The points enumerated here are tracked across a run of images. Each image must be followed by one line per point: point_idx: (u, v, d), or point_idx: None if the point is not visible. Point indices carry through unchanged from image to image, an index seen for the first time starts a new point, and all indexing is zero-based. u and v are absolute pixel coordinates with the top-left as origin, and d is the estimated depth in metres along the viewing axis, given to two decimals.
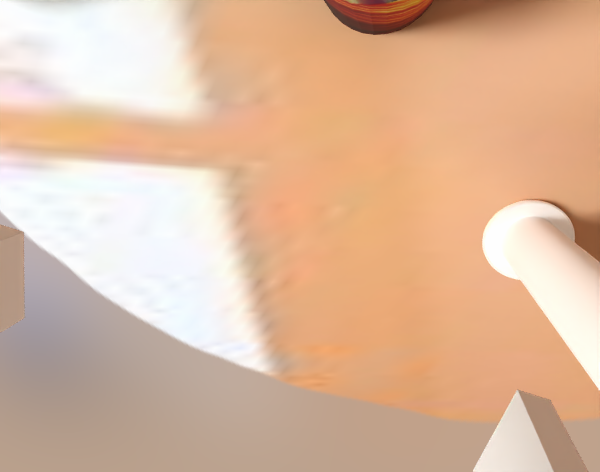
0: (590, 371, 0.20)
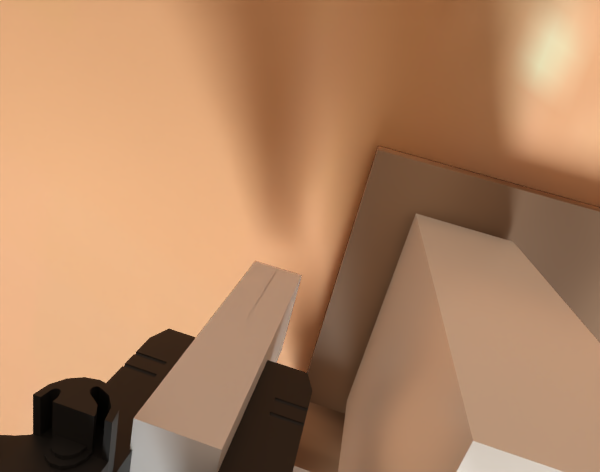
0: None
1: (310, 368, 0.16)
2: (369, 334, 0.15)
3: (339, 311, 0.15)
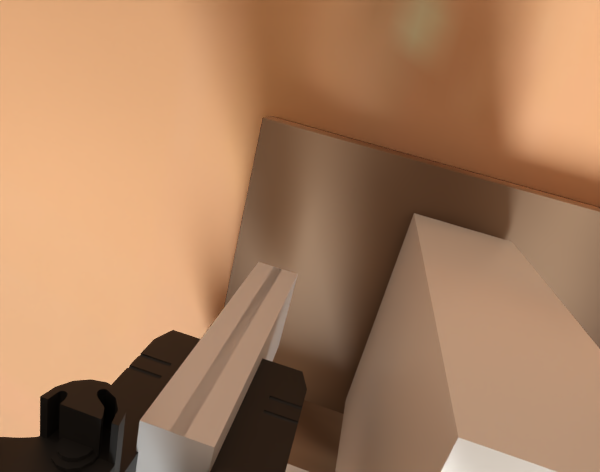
0: None
1: None
2: None
3: (241, 279, 0.15)
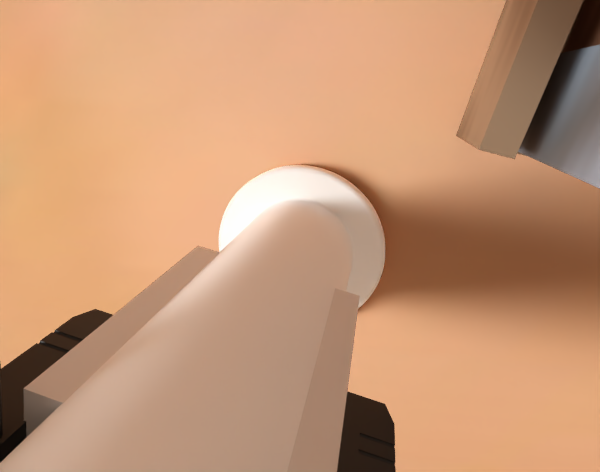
0: None
1: None
2: None
3: None
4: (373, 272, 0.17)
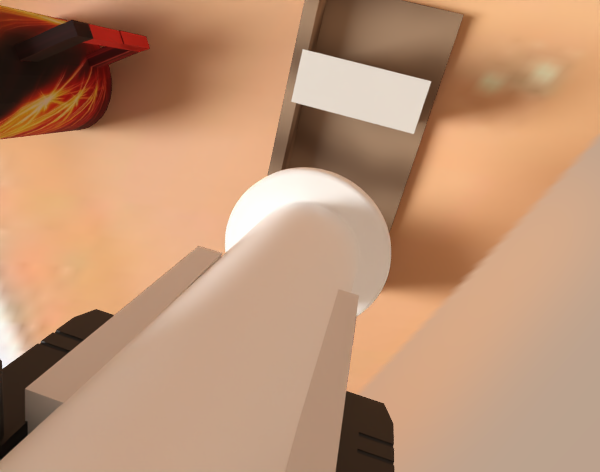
0: None
1: None
2: (372, 19, 0.31)
3: (384, 3, 0.31)
4: (379, 275, 0.17)
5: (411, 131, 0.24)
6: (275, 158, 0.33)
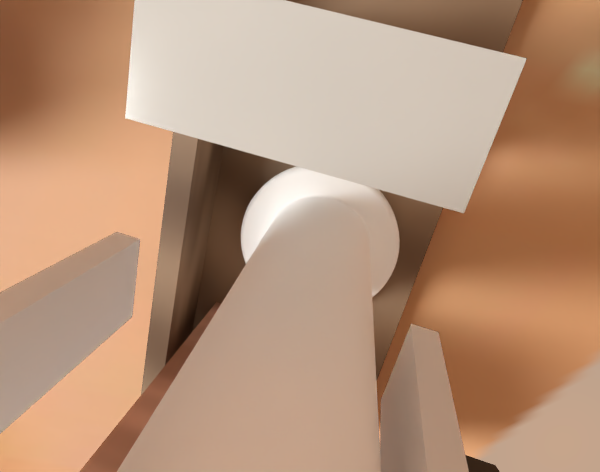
0: None
1: None
2: None
3: None
4: (388, 263, 0.18)
5: (457, 206, 0.08)
6: (171, 220, 0.17)
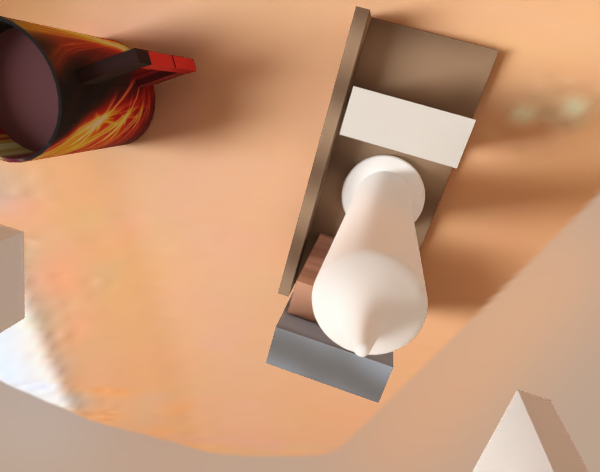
0: None
1: (389, 23, 0.32)
2: (410, 52, 0.33)
3: (422, 37, 0.32)
4: (418, 207, 0.35)
5: (454, 165, 0.26)
6: (313, 182, 0.34)
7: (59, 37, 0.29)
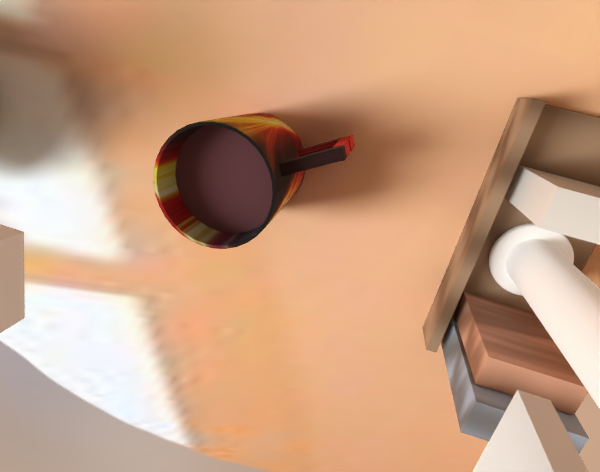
0: (587, 385, 0.23)
1: (551, 106, 0.35)
2: (568, 132, 0.35)
3: (582, 119, 0.34)
4: None
5: None
6: (472, 252, 0.37)
7: (260, 133, 0.32)
